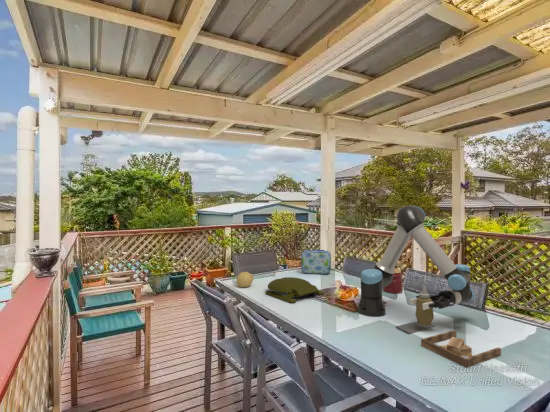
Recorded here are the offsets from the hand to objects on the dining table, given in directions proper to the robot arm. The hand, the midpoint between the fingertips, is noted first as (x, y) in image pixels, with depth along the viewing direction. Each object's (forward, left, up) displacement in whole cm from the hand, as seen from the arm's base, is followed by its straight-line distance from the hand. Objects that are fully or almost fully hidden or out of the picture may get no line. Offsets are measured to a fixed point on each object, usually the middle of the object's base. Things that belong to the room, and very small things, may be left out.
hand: (416, 304), depth 152 cm
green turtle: (-67, +57, -15) cm, 89 cm away
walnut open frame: (+12, -18, -14) cm, 26 cm away
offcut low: (+10, -20, -15) cm, 27 cm away
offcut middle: (+10, -20, -13) cm, 25 cm away
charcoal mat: (+4, +3, -14) cm, 15 cm away
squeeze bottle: (+4, +3, -10) cm, 11 cm away
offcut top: (+10, -20, -11) cm, 25 cm away
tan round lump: (-103, +69, -14) cm, 125 cm away
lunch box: (-52, +119, -14) cm, 131 cm away
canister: (+3, +72, -14) cm, 73 cm away
